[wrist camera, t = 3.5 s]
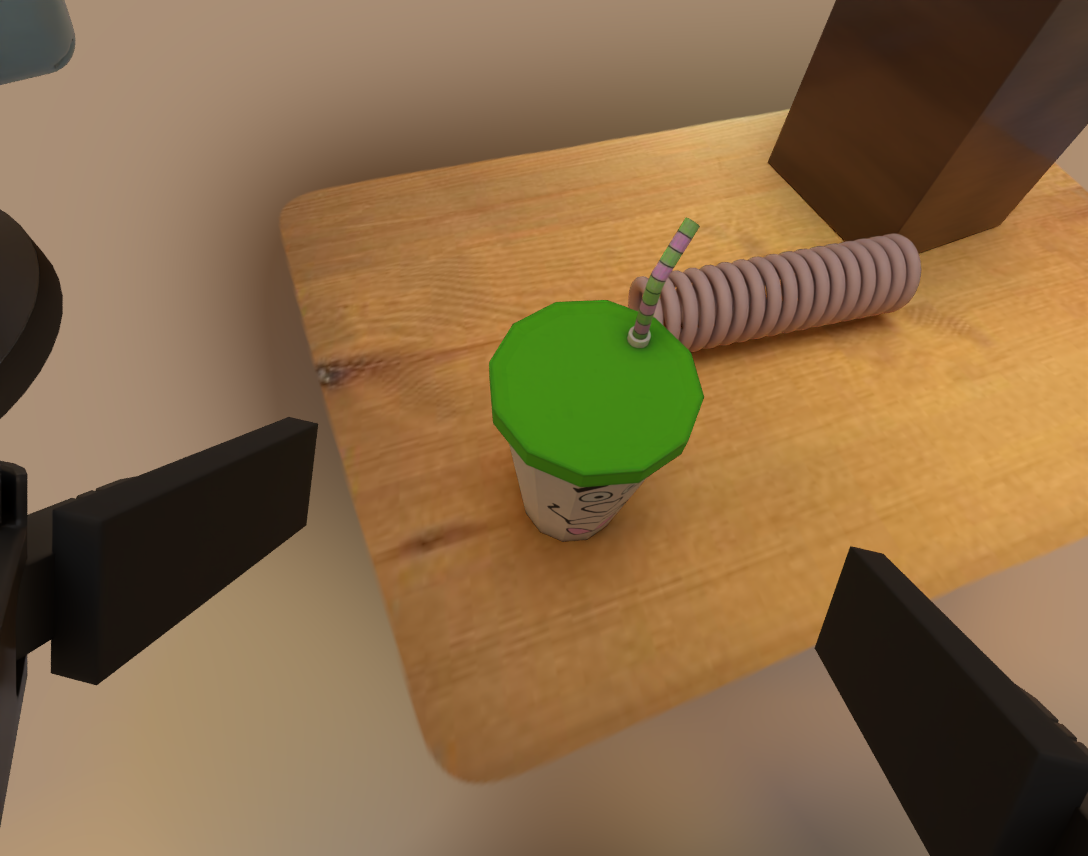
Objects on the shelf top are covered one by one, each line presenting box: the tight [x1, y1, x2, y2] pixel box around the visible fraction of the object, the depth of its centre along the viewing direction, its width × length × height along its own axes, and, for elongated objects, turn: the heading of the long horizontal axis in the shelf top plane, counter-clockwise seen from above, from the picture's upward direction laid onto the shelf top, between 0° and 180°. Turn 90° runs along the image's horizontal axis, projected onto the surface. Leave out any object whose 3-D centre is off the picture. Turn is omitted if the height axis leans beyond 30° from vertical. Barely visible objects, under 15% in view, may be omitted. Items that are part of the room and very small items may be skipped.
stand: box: [768, 0, 1088, 253], centre depth 37 cm, size 12×12×20 cm
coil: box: [629, 234, 921, 352], centre depth 36 cm, size 5×5×18 cm
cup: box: [489, 218, 704, 542], centre depth 25 cm, size 8×8×15 cm
